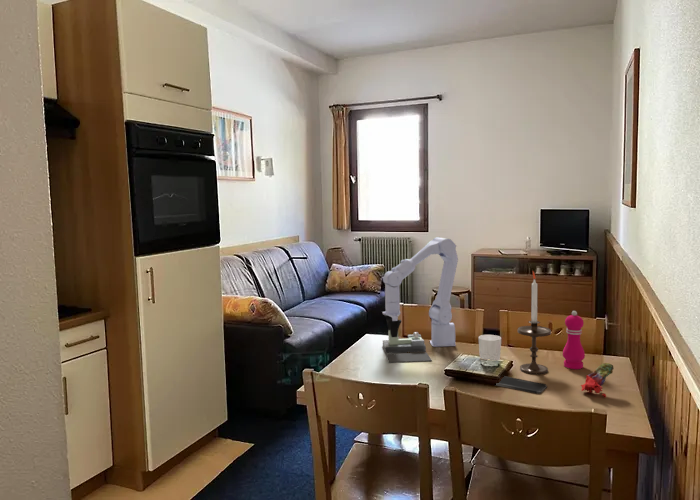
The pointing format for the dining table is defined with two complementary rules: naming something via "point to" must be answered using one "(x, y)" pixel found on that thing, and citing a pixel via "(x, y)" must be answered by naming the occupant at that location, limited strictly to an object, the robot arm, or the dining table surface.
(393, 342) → the sage hook
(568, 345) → the pepper mill
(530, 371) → the candlestick
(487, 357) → the white cup
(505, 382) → the phone
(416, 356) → the black mat
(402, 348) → the vise
